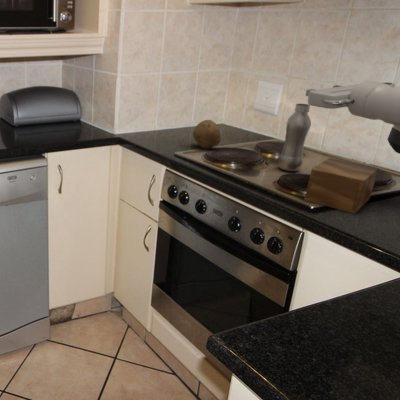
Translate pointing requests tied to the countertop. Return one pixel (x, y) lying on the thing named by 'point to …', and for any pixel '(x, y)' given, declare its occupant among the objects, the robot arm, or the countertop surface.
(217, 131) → the brown coconut
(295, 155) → the plastic bottle
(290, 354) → the countertop surface
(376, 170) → the wooden block
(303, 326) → the countertop surface
